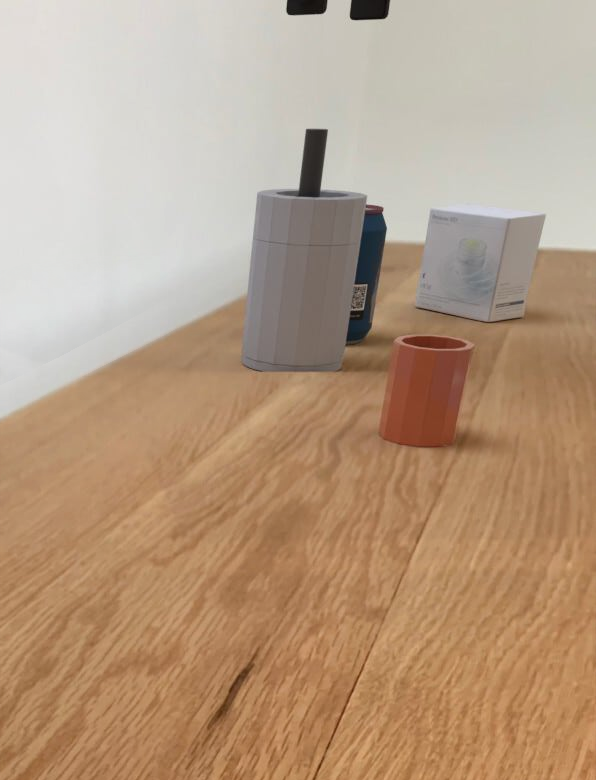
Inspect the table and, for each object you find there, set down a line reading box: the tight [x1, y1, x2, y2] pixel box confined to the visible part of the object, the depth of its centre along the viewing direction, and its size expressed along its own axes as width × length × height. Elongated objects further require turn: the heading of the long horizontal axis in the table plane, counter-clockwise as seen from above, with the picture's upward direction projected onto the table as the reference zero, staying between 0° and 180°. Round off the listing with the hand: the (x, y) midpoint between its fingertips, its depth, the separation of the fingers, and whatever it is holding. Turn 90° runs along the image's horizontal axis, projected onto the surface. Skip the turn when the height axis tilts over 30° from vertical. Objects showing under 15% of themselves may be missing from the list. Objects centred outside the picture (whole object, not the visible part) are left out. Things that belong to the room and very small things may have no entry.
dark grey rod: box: [298, 128, 329, 197], centre depth 96 cm, size 3×3×18 cm
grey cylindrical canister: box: [241, 188, 368, 373], centre depth 97 cm, size 9×9×14 cm
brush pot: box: [378, 334, 476, 448], centre depth 78 cm, size 5×5×7 cm
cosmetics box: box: [414, 203, 547, 323], centre depth 121 cm, size 10×6×10 cm, turn 33°
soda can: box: [345, 203, 388, 345], centre depth 108 cm, size 7×7×12 cm
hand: (338, 17), depth 87 cm, fingers open, 9 cm apart
